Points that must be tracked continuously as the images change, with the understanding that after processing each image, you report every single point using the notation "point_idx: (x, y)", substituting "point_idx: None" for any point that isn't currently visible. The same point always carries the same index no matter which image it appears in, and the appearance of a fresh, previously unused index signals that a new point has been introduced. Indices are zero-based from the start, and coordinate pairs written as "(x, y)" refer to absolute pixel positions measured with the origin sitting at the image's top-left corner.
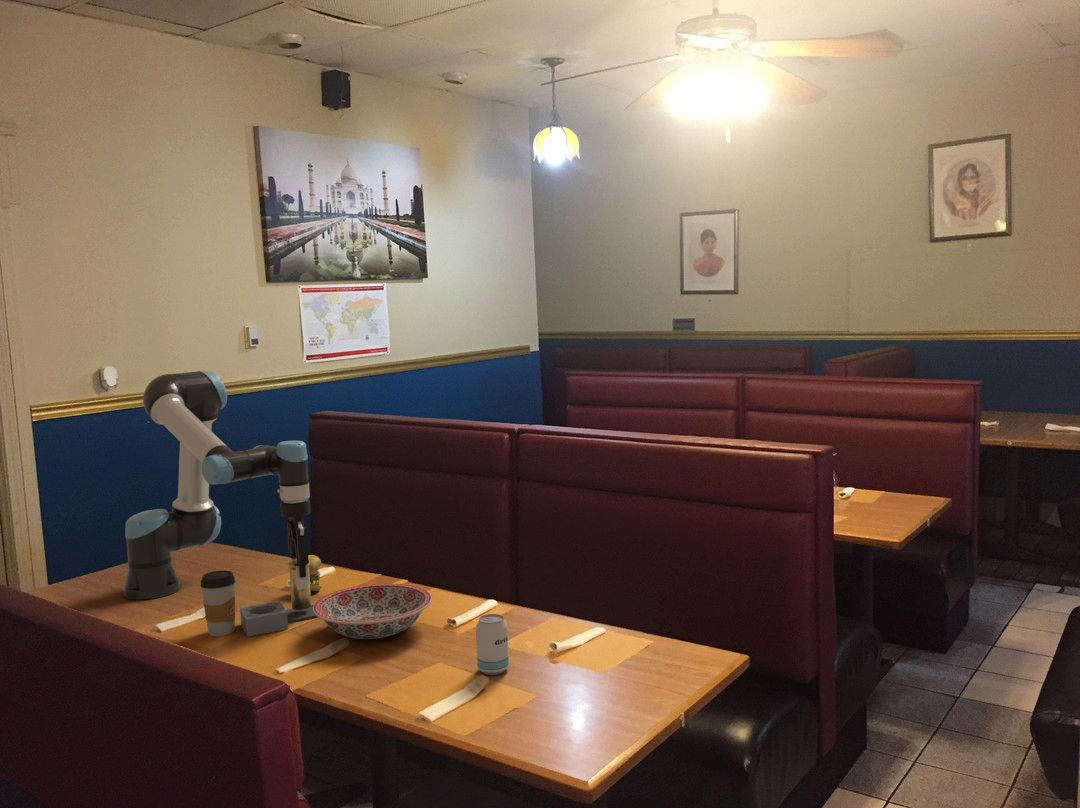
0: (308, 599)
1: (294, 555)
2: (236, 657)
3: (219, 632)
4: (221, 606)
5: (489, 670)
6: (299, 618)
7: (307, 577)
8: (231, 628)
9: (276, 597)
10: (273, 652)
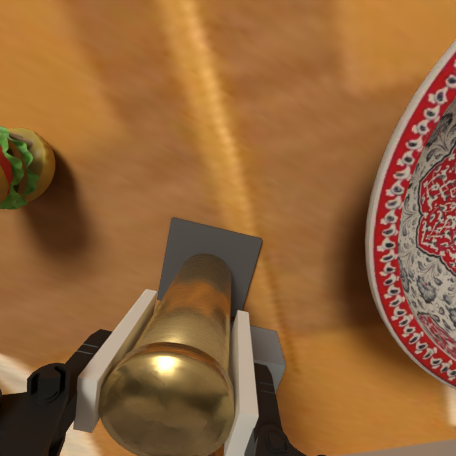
0: (228, 280)
1: (56, 437)
2: (338, 445)
3: None
4: None
5: None
6: (245, 294)
7: (251, 346)
8: None
9: (29, 255)
10: (374, 400)
